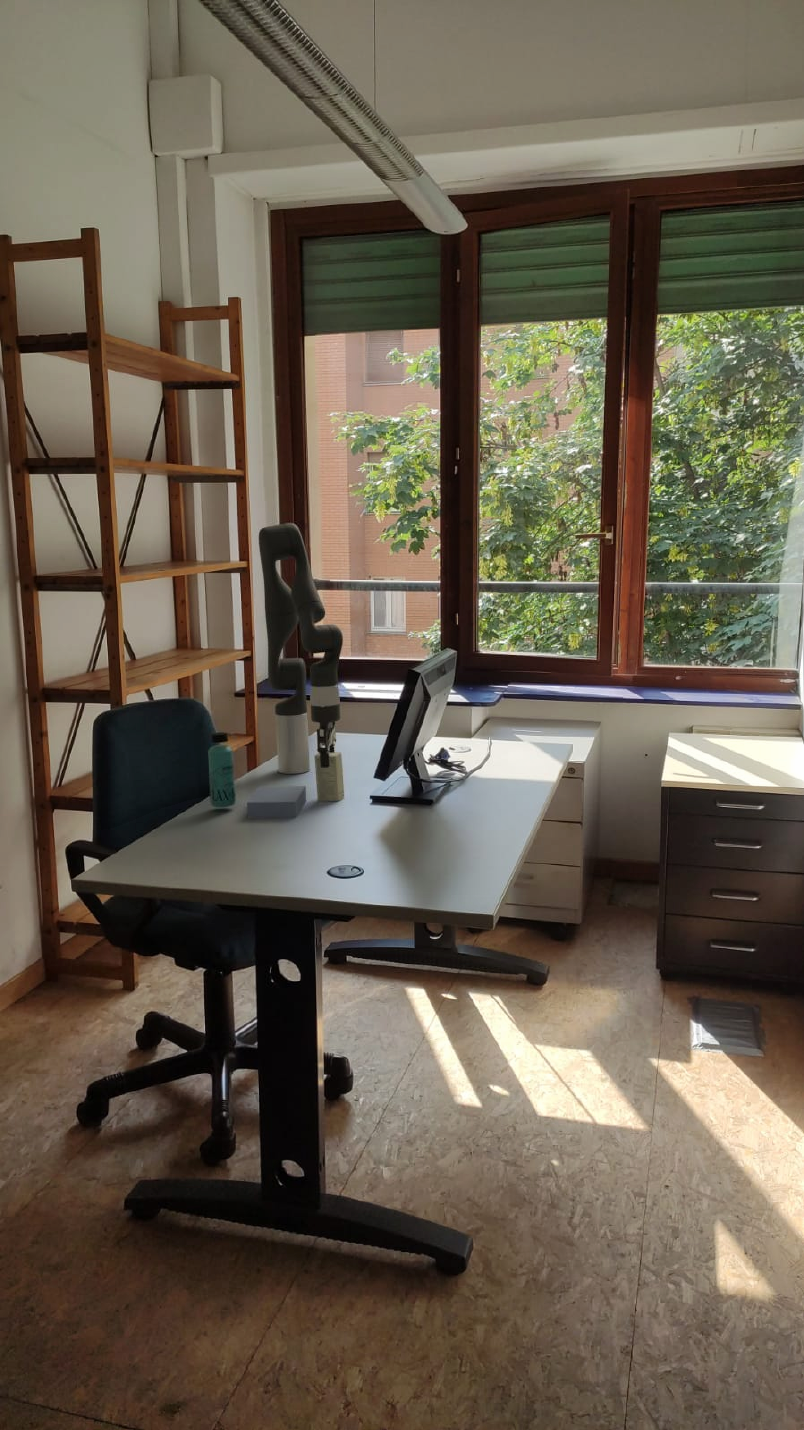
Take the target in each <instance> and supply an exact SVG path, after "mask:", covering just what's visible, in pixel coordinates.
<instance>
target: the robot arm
mask: <svg viewBox="0 0 804 1430" xmlns="http://www.w3.org/2000/svg"><path fill="white" fill-rule="evenodd" d="M258 546H259V555H260V563H261V570H262V577H263V588H264V589H263V592H264V611H265V612H264V614H265V615H264V616H265V617H264V618H265V626H266V627H265V628H266V635H267V677H268V679H267V680H268V685H269V687H270V689H272V690H273V691H279V692H280V691H295V692H294V694H293V695H292V696H290V697H288V698H286V699H285V700H282V701H279V702H277V703H276V704H275V706H274V713H275V729H276V730H275V732H276V747H277V748H276V749H277V766H278V767H277V768H278V772H279V773H281V774H287V775H288V774H289V775H292V774H302V773H306V772H309V771H310V770H311V765H310V763H311V762H310V744H309V727H308V726H309V723H308V707H307V669H306V668H307V666H306V662H305V660H304V658H301V657H292V658H291V657H288V658H280V657H281V653H282V650H283V649H284V647H285V645H286V644H287V642H288V641H289V639H290V638H291V636H292V635H293V633H294V632H295V630H296V629H297V626H298V624H299V628H300V643H301V646H302V648H303V649H304V651H306V652H307V653H309V654H323V653H324V655H323V657H322V658H321V660H318V661H316V662H313V663H312V664H311V665H310V667H309V675H310V676H309V678H310V679H309V681H310V692H309V697H310V699H309V701H310V720H311V721H312V722H314V723H318V724H319V727H318V728H317V729H316V741H317V743H316V745H317V747H316V748H317V749H316V752H317V753H320V765H321V768H328V767H329V752H332V753H336V752H335V746H336V743H337V737H336V735H337V733H336V722H337V721H340V720H341V705H340V703H341V701H340V690H339V679H338V667H339V662H340V657H341V652H342V650H343V649H342V648H343V643H344V636H343V632H342V631H341V629H340V627H339V626H338V625H337V624H321V625H320V624H319V625H316V624H318V623H319V622H321V621H323V619H324V618H325V616H326V610H325V607H324V604H323V602H322V600H321V597H320V595H319V593H318V590H317V587H316V584H315V581H314V577H313V574H312V569H311V566H310V560H309V558H308V557H309V556H308V554H307V549H306V547H305V543H304V539H303V536H302V533H301V531H300V528H299V527H298V526H297V524H295V523H292V522H287V523H282V524H275V525H269V526H264V527H262V528H261V529H259V532H258ZM292 558H293V559H294V561H295V573H294V577H293V580H292V584H291V588H290V586H289V585H288V584H287V583H286V582H285V581H284V580H283V577H281V575H280V574H279V571H278V570H277V569H278V568H277V565H276V564H277V561H283V560H288V559H292Z"/></svg>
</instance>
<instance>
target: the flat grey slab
mask: <svg viewBox="0 0 804 1430" xmlns="http://www.w3.org/2000/svg"><path fill="white" fill-rule="evenodd" d="M306 790H307V787H306V785H288V786H287V785H286V786H285V785H283V786H279V785H278V786H273V785H272V786H270V785H269V786H259V787H258V789H257V790H256V791H255V792H254V794H253V795H251V797H250V798H249V799H248V801H247V803H246V804H247V805H246V807H247V809H246V810H247V819H249V820H251V819H297V817H298V816H299V814H300V813H301V811H302V809H303V808H304V806H305V805H306V802H307V791H306Z"/></svg>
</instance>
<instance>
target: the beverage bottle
mask: <svg viewBox="0 0 804 1430" xmlns="http://www.w3.org/2000/svg"><path fill="white" fill-rule="evenodd" d="M228 741H229V736H228V733H227V732H224V731H223V732H222V731H220V732H214V733H212V734H211V743H213V744H216V745H213V746H211V747H210V748H209V749H207V753H208V755H207V757H208V768H209V769H208V771H209V772H208V773H209V774H208V775H209V776H208V778H209V781H208V782H209V798H210V801H209V802H210V804H211V806H212V807H213V808H229V807H232V806H234V805H235V804H236V801H237V800H236V796H237V794H236V787H235V764H234V754H233V753H234V750H233V749H232V747H231V746H229V745H228V744H221V743H227V742H228ZM217 744H218V745H217Z"/></svg>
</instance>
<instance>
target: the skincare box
mask: <svg viewBox="0 0 804 1430" xmlns="http://www.w3.org/2000/svg"><path fill="white" fill-rule="evenodd" d="M314 768H315V769H314V770H315V782H316V794H317V801H323V802H325V801H328V802H329V801H330V802H339V801H341V800H342V799H344V798H345V785H344V784H345V783H344V774H343V773H344V771H343V770H344V769H343V759H342V752H335V753H332V752H329V767H328V768H321V765H320V753H319V752H317V754H314Z"/></svg>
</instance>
